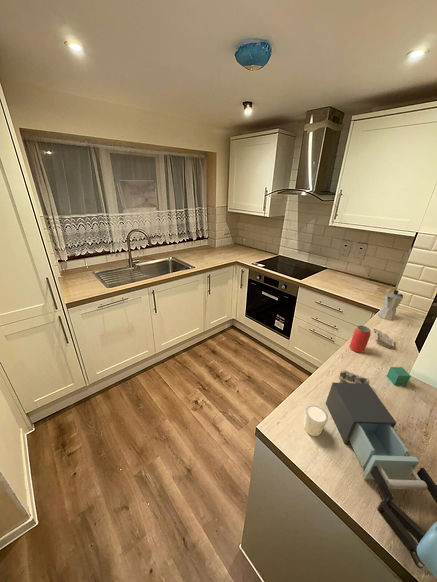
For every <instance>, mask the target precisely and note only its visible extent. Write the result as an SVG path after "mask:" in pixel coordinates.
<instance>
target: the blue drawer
mask: <svg viewBox="0 0 437 582" xmlns="http://www.w3.org/2000/svg"><path fill="white" fill-rule="evenodd" d="M349 441H350V443H351V444H350V445H351V447H352V449H353V451H354V453H355V455H356V457H357V460H358V461H359V464H360V467H361V468H362V469H364V471H363V472H362V476H363V478H364V480H374V478H373V476H372V474H371V470H372V468H373V467H374V466H377V468H378V470H379V471H380V473H381V475H382V477H383V479H384V481H385V483H386V484H387V486H388V488H389V490H415V491H417V490H418V491H420V490H421V491H428V490H427V484H426V483H425V482H424V481H423V480H421V479H420V478H419V476H418V475H417V473H418V472H417V471H416V470H415V469H416V467H417V466H418V464H419V463H420V460H419V459H418V457H417V456H408V454H409V453H410V450H409V448H407V446H406V444H405V443H404V442H403V440H402V438H401V437H400V436H399V435H398V433H397V432H396V431H395V429H394V428H393V427H392V426H391V425H390V424H366V423H356V424H355V426H354V428H353V431H352V433H351V435H350V438H349ZM411 475H413V476H414V478H415V479H409V477H410V476H411Z"/></svg>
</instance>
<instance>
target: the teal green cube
mask: <svg viewBox="0 0 437 582" xmlns="http://www.w3.org/2000/svg"><path fill="white" fill-rule="evenodd" d="M386 377H387V378H388V379H389V380H390V382H391V383H392V384H393V386H407V385H408V383H409V381H410V379H411V378H412V376H411V375H410V373H409V372H408V371H407V370H406V369H405V368H404V367H402V366H390V367H389V369H388V372H387V373H386Z"/></svg>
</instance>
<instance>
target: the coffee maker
mask: <svg viewBox="0 0 437 582" xmlns="http://www.w3.org/2000/svg"><path fill="white" fill-rule="evenodd" d="M399 292H400V291H399V290H397V289H393V292H387V293H386V294H385V297H384V301H383V306H382V307H381V308H380V310H379V312H378V314H377V315H378V317H379V318H381V319H382V320H385V321H395V318H396V313H397V308H398V307H399V305H400V304H401V302H402V300H403V298H404V295H403V294H402V293H399Z"/></svg>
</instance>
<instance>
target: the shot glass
mask: <svg viewBox="0 0 437 582" xmlns="http://www.w3.org/2000/svg"><path fill="white" fill-rule="evenodd" d="M328 420H329V415H328V413H327V411H326V410H325V409H324V408H322V407H321V406H319V405H318V404H309V405H307V406H306V407H305V409H304V419H303V424H302V425H303V426H302V427H303V430H304V431H305V432H306V433H307V434H308V435H310V436H313V437H319V436H320V435H321V434H322V431H323V430H324V428H325V426H326V425H327V422H328Z"/></svg>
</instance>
